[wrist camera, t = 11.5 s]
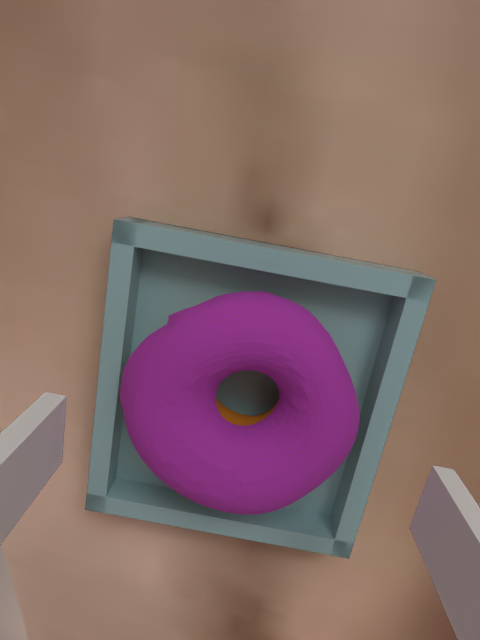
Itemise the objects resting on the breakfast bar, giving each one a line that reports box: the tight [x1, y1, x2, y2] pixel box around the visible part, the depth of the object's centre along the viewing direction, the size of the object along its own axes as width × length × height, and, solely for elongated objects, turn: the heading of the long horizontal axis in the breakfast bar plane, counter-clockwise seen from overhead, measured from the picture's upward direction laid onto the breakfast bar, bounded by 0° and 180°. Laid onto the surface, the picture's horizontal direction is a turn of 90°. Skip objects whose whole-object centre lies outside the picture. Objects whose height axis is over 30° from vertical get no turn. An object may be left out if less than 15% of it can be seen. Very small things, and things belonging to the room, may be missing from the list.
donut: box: [120, 291, 360, 515], centre depth 20 cm, size 10×10×5 cm
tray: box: [85, 217, 436, 559], centre depth 22 cm, size 15×14×2 cm
